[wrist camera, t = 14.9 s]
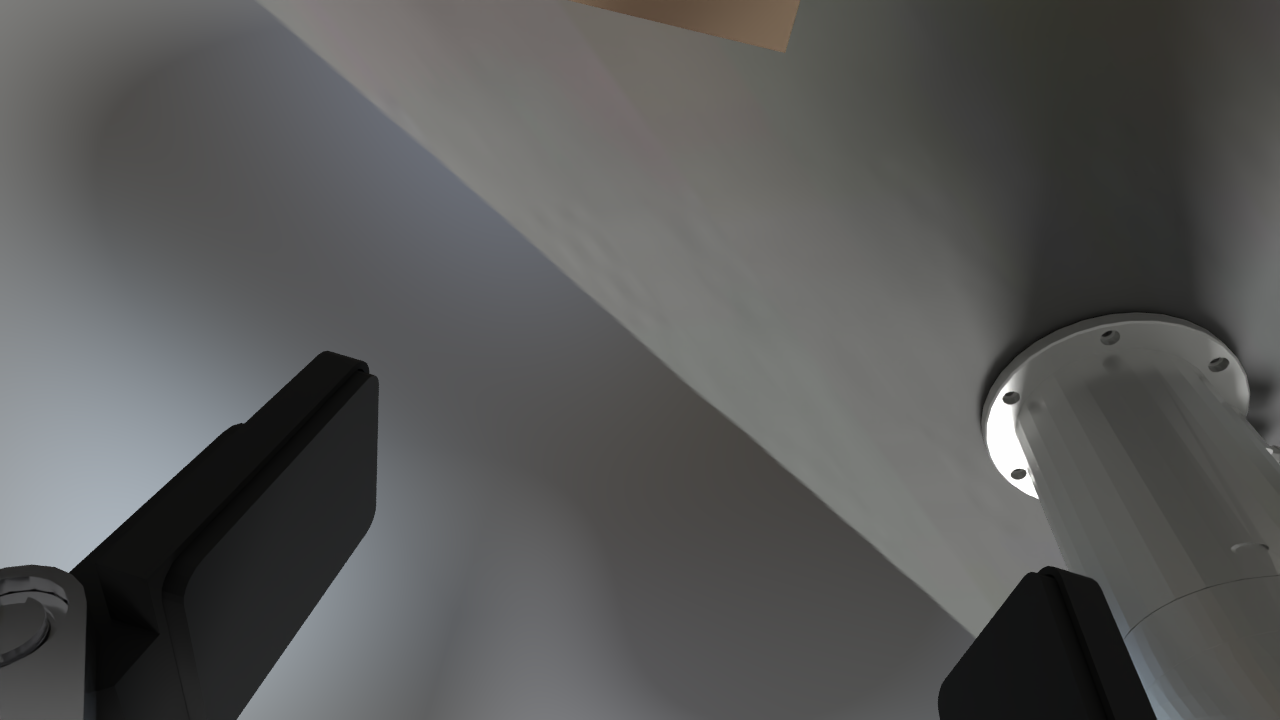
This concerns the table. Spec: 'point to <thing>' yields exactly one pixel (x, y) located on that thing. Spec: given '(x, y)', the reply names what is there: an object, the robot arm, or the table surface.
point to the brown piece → (717, 17)
